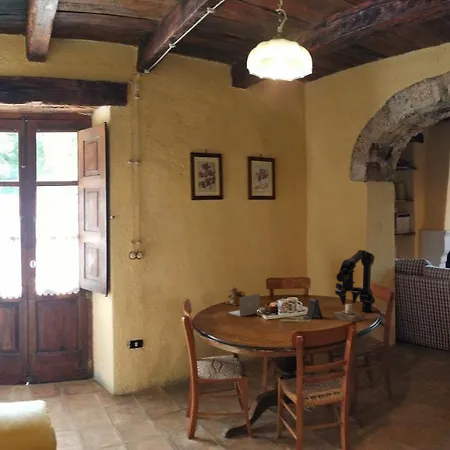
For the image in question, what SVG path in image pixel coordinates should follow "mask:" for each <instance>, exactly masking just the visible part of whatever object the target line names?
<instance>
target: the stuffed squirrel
mask: <svg viewBox="0 0 450 450" xmlns="http://www.w3.org/2000/svg"><path fill="white" fill-rule="evenodd" d="M228 293H230V294H228V295H227V298H228V299H229V301H226V302H225V304H226V305H233V306H234V307H235V306H240V297H244V296H247V295H246V294H247V293H246V292H245V290H243V289H242V290H241V289H240V290H239V287H236V286H232V287H230V290H228Z"/></svg>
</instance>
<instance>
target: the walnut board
mask: <svg viewBox="0 0 450 450" xmlns="http://www.w3.org/2000/svg"><path fill="white" fill-rule="evenodd" d="M332 314H333V315H332V317H333V318H335V319H339V320H342V321H346V322H349V323H354V322H359V321H364V319H365V320H366V314H365V313H364V314H363V313H359V312H356V311H352V315H346V314H345V310H340V311H335V312H332Z"/></svg>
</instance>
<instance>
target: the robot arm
mask: <svg viewBox="0 0 450 450" xmlns="http://www.w3.org/2000/svg"><path fill="white" fill-rule="evenodd" d="M360 261H361V262H360ZM359 262H360V263H361V265H362V266H363V267H362V268H363V270H362V271H363V272H362V287H361V286H360V287H359V286H354V284H356V283H355V281H354V273H355V270H354V269H355V268H356V267H357V263H359ZM374 263H375V255H374V254H373V253H371V252H368V251H367V250H365V249H364V250H363V249H359V250H357V252H356V253H354V255H352V256H351V257H350V258H346V259H344V260H343V261H342V263H341V265H340V268H339V271H338V273H337V275H336V277H335V279H336V281H338V282H337V283H335V292H334V293H335V294H336V295H337V296H338V297H339V298H340V301H341V304H342V306H345V304H346V299H347V293H351V294H352V295H351V297H352V304H355V303H356V301H357V299H358V298H359V302H360V303H362V306H361V310H360V312H364V313H367V314H368V313H374V312H375V310H373V304H376V299H375V297H374V295H373V291H372V288H371V277H372V275H371V274H372V265H374Z"/></svg>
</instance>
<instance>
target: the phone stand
mask: <svg viewBox="0 0 450 450" xmlns="http://www.w3.org/2000/svg"><path fill="white" fill-rule="evenodd" d="M319 301H320V300H319V299H315V298H309V304H308V308H307V312H306V315H307V316H308V317H309V318H308V319H309V320H310V319H311V320H315V319H322V318H323V313H322V311H321V308H320V305H319V304H320V302H319Z"/></svg>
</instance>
